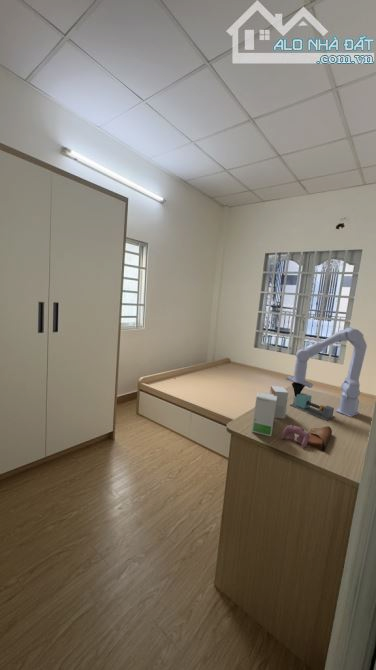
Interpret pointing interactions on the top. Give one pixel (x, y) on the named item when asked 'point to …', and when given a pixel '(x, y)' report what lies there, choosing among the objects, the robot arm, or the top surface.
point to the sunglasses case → (319, 437)
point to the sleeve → (303, 400)
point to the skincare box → (264, 414)
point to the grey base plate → (312, 411)
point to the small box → (280, 400)
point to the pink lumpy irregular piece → (299, 431)
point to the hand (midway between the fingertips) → (296, 396)
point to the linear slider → (320, 409)
